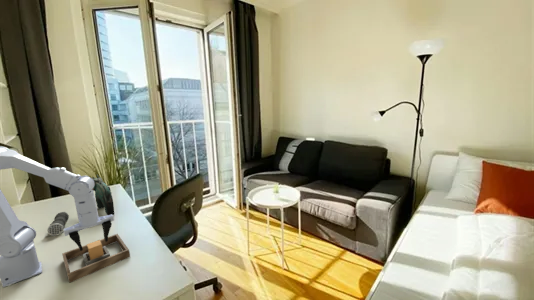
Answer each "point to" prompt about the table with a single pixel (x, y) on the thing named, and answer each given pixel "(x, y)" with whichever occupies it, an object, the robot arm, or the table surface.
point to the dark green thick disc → (103, 196)
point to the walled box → (97, 262)
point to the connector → (95, 249)
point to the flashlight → (58, 224)
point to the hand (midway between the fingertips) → (94, 244)
